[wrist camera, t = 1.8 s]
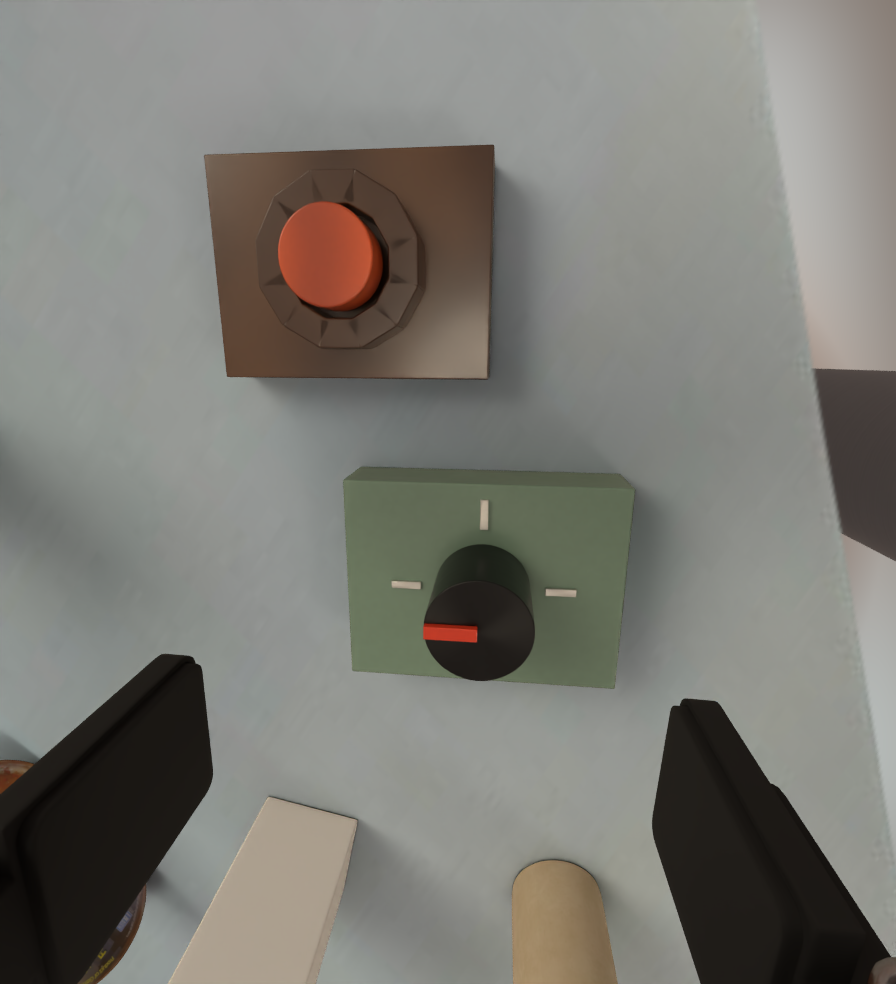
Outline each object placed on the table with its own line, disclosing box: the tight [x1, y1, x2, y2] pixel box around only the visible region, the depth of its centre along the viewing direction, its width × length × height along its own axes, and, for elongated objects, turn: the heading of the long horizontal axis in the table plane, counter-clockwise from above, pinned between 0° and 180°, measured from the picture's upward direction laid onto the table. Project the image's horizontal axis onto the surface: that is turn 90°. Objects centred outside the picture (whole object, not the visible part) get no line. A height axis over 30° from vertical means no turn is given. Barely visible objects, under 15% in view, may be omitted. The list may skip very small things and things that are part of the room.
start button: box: [278, 201, 383, 312], centre depth 19 cm, size 4×4×2 cm
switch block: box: [204, 145, 495, 380], centre depth 22 cm, size 12×9×4 cm
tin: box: [0, 760, 146, 984], centre depth 30 cm, size 15×3×8 cm, turn 40°
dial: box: [423, 544, 535, 681], centre depth 22 cm, size 4×4×4 cm
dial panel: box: [343, 467, 635, 689], centre depth 25 cm, size 13×10×3 cm
